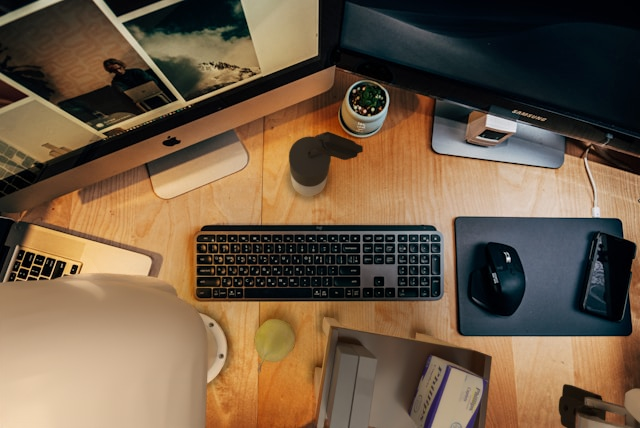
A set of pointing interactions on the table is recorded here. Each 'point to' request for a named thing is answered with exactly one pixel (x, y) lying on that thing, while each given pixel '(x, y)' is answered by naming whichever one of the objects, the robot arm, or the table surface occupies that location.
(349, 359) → the grey book
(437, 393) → the box
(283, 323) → the fruit
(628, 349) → the table surface
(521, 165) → the table surface
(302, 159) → the track light
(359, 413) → the grey book
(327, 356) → the brown shallow tray
